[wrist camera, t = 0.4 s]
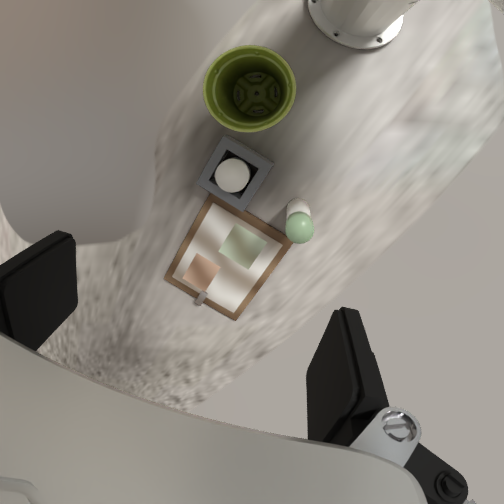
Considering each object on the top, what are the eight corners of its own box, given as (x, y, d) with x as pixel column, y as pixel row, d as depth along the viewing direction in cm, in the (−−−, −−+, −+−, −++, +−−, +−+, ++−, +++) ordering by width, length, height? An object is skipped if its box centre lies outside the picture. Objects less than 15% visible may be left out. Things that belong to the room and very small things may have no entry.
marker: (294, 193, 41) (295, 211, 33) (314, 206, 41) (319, 226, 34) (281, 212, 42) (279, 234, 35) (301, 224, 43) (303, 248, 35)
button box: (227, 134, 39) (223, 135, 36) (273, 162, 40) (272, 165, 37) (201, 179, 42) (195, 183, 39) (246, 206, 43) (243, 212, 40)
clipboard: (212, 190, 42) (210, 192, 41) (293, 240, 44) (293, 243, 42) (164, 278, 49) (161, 282, 47) (234, 320, 50) (233, 325, 49)
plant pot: (298, 126, 38) (300, 128, 30) (224, 134, 39) (208, 137, 31) (290, 57, 34) (290, 40, 26) (216, 66, 35) (198, 53, 27)
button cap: (229, 151, 38) (225, 153, 36) (256, 168, 39) (254, 170, 37) (213, 178, 40) (209, 181, 38) (240, 194, 40) (237, 198, 38)
